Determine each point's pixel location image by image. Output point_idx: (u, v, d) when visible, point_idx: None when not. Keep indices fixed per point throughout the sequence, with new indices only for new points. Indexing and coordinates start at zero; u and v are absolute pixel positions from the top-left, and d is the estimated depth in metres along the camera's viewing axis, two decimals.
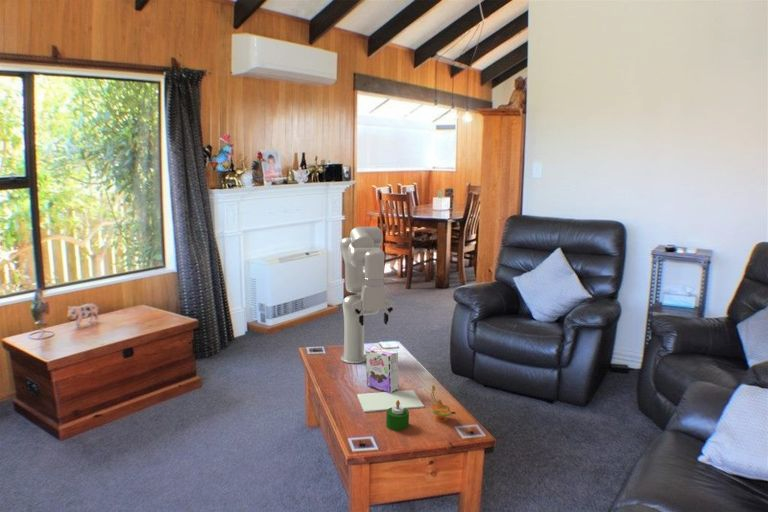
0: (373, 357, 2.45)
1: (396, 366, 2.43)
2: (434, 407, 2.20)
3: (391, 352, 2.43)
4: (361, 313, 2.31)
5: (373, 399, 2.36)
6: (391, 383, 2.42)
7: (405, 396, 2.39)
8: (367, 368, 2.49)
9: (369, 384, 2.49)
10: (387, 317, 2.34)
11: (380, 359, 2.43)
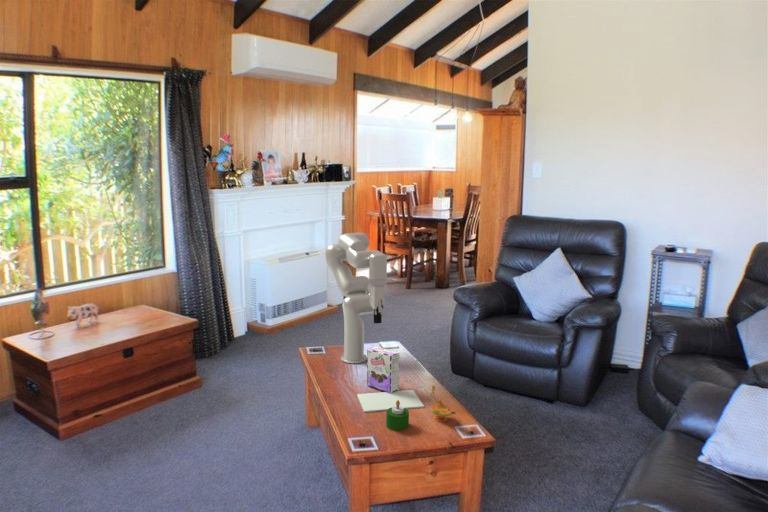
0: (374, 357, 2.46)
1: (397, 366, 2.44)
2: (434, 407, 2.20)
3: (393, 352, 2.43)
4: (380, 312, 2.55)
5: (373, 399, 2.36)
6: (392, 383, 2.42)
7: (405, 396, 2.39)
8: (368, 367, 2.49)
9: (369, 384, 2.49)
10: None
11: (381, 359, 2.43)
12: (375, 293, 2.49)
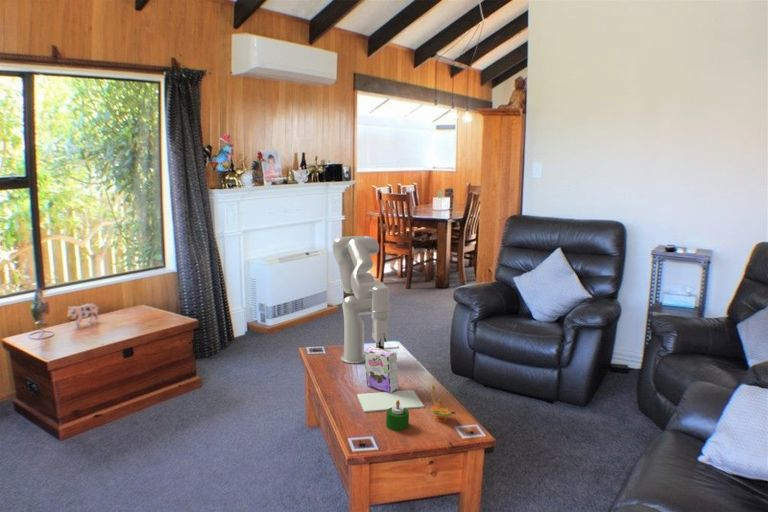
0: (372, 358, 2.45)
1: (395, 366, 2.43)
2: (434, 407, 2.20)
3: (390, 352, 2.42)
4: None
5: (373, 399, 2.36)
6: (391, 383, 2.42)
7: (405, 396, 2.39)
8: (367, 368, 2.49)
9: (369, 384, 2.49)
10: None
11: (379, 360, 2.42)
12: (378, 326, 2.45)
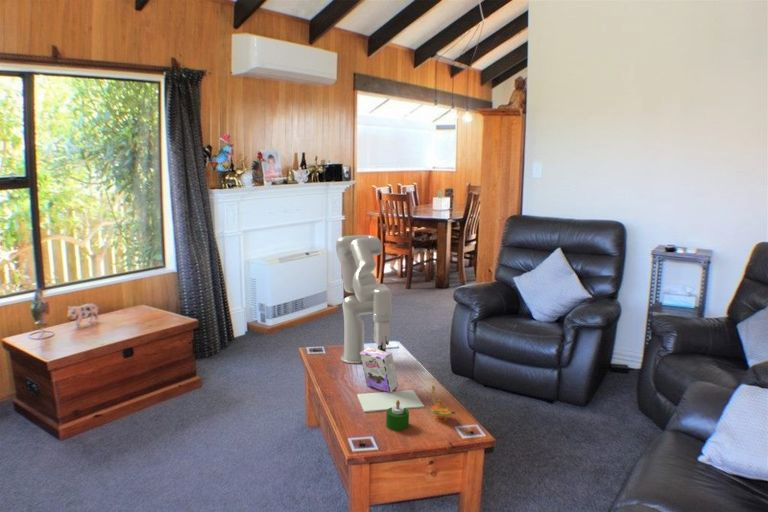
0: (368, 360, 2.43)
1: (392, 366, 2.41)
2: (434, 407, 2.20)
3: (385, 353, 2.40)
4: None
5: (373, 399, 2.36)
6: (390, 383, 2.41)
7: (405, 396, 2.39)
8: (364, 369, 2.48)
9: (369, 384, 2.49)
10: None
11: (375, 362, 2.41)
12: (379, 329, 2.42)
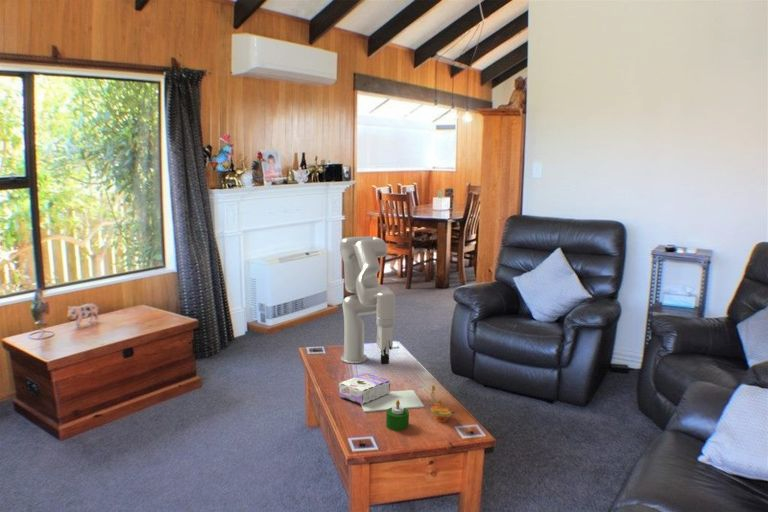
0: None
1: (372, 390, 2.33)
2: (434, 407, 2.20)
3: (359, 394, 2.30)
4: None
5: None
6: (383, 393, 2.39)
7: (405, 396, 2.39)
8: None
9: None
10: None
11: None
12: (383, 334, 2.36)
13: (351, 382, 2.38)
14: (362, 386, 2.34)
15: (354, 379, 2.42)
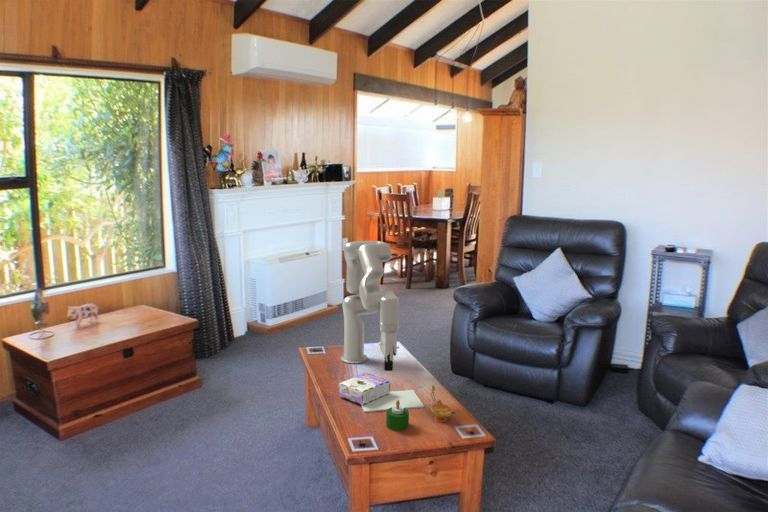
0: None
1: (372, 390, 2.33)
2: (434, 407, 2.20)
3: (359, 395, 2.30)
4: None
5: None
6: (383, 393, 2.39)
7: (405, 396, 2.39)
8: None
9: None
10: None
11: None
12: (386, 340, 2.29)
13: (351, 382, 2.38)
14: (362, 386, 2.34)
15: (354, 379, 2.42)
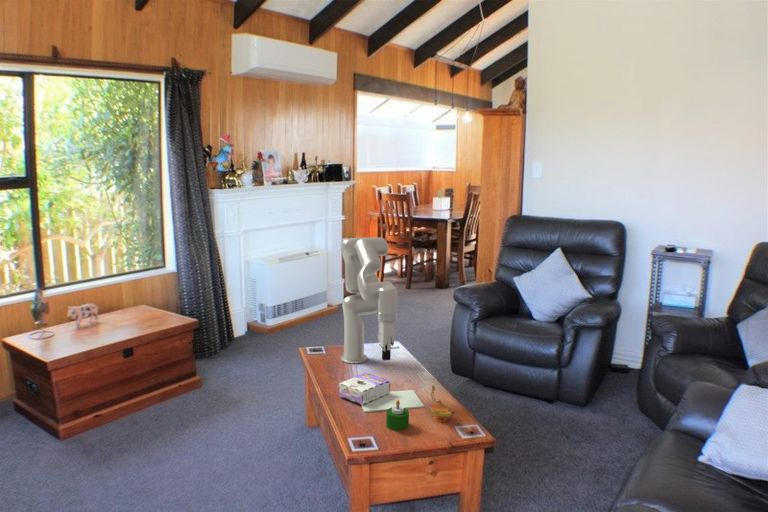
0: None
1: (372, 390, 2.33)
2: (434, 407, 2.20)
3: (359, 395, 2.30)
4: None
5: None
6: (383, 393, 2.39)
7: (405, 396, 2.39)
8: None
9: None
10: None
11: None
12: (384, 330, 2.32)
13: (351, 382, 2.38)
14: (362, 386, 2.34)
15: (354, 379, 2.42)
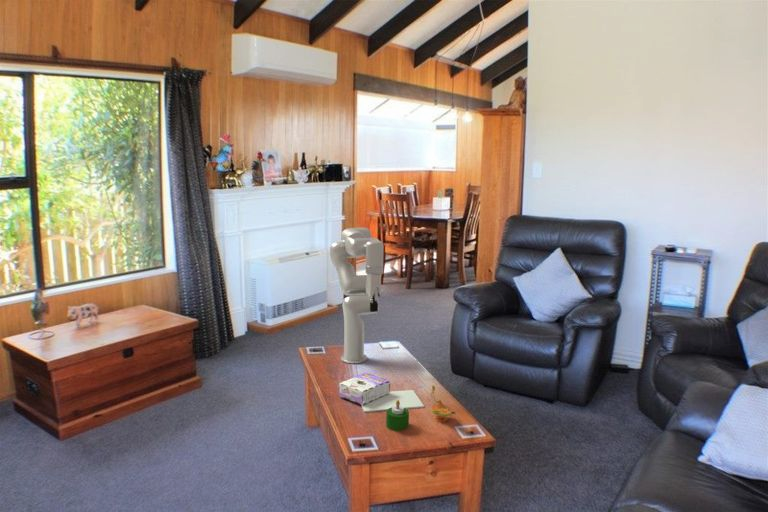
0: None
1: (372, 390, 2.33)
2: (434, 407, 2.20)
3: (359, 395, 2.30)
4: None
5: None
6: (383, 393, 2.39)
7: (405, 396, 2.39)
8: None
9: None
10: None
11: None
12: (371, 281, 2.46)
13: (351, 382, 2.38)
14: (362, 386, 2.34)
15: (354, 379, 2.42)
